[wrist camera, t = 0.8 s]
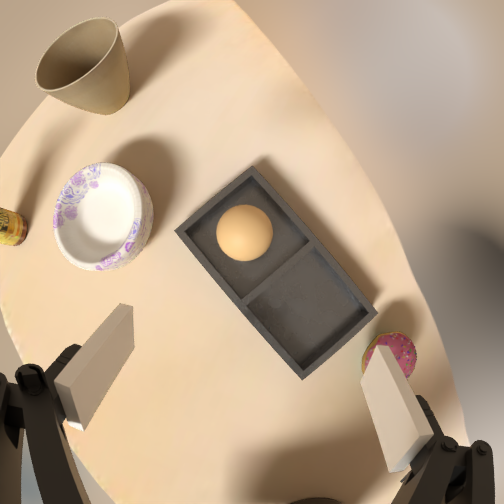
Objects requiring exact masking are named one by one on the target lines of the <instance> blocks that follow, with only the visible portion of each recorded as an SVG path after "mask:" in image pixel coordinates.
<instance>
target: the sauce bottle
mask: <svg viewBox="0 0 504 504" xmlns="http://www.w3.org/2000/svg"><path fill="white" fill-rule="evenodd" d="M26 232H27V223H26V220H25V219H24V217H23V216H22V215H19V214H18V213H15V212H12V211H9V210H6V209H3V208H0V244H5V245H13V246H17V245H20V244H21V243H22V242H23V241H24V239H25V236H26Z"/></svg>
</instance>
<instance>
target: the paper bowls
mask: <svg viewBox="0 0 504 504" xmlns="http://www.w3.org/2000/svg"><path fill="white" fill-rule="evenodd" d="M153 217H154V215H153V205H152V201H151V197H150V195H149V193H148V191H147V189H146V187H145V186H144V184H143V183H142V182H141V181H140V180H139V179H138V178H137V177H135V176H134V175H133V174H132V173H130V172H129V171H128V170H126V169H125V168H123V167H121V166H119V165H116V164H113V163H105V162H104V163H96V164H92V165H89V166H87V167H85V168H83V169H81V170H80V171H78V172H77V173H76V174H75V175H74V176H73V177H71V179H70V180H69V181H68V182H67V183H66V185H65V186H64V188H63V189H62V191H61V193H60V195H59V197H58V200H57V203H56V206H55V211H54V217H53V227H54V234H55V238H56V241H57V244H58V246H59V249H60V250H61V252H62V253H63V255H64V256H65V257H66V258H67V259H68V260H69V261H70V262H71V263H72V264H74V265H76V266H77V267H79V268H81V269H85V270H94V271H95V270H96V271H98V270H99V271H108V270H115V269H118V268H120V267H123V266H125V265H127V264H128V263H130V262H131V261H132V260H134V259H135V258H136V257H137V256H138V254H139V253H140V252H141V251H142V249H143V248H144V246H145V244H146V243H147V240H148V238H149V236H150V233H151V230H152V224H153Z"/></svg>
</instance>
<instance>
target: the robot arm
mask: <svg viewBox="0 0 504 504" xmlns="http://www.w3.org/2000/svg"><path fill="white" fill-rule="evenodd" d="M133 349H134V327H133V306H129V305H125V304H121V303H120V304H119V305H118V306H117V307H116V308H115V309H114V311H113V312H112V313H111V314H110V315H109V316H108V317H107V318H106V320H105V321H104V322H103V323H102V324H101V325H100V326H99V328H98V329H97V330H96V331H95V332H94V333H93V334H92V336H91V337H90V338H89V339H88V340H87V341H86V343H85V344H84V345H83V346H80V345H77V344H73V345H71V346H69V347H67V348H66V349H65V350H64V351H63V352H62V353H61V354H60V356H58V358H57V359H56V360H55V361H54V362H53V363H52V364H51V366H50V367H49V368H48V369H47V370H46V371H45V372H44V371H43V369H42V368H41V367H40V366H39V365H36V364H25V365H22V366H21V367H19V368H18V370H17V371H16V373H15V378H16V380H17V383H18V384H14V383H9V382H8V381H7V379H6V377H5V375H4V374H2V373H0V504H21V464H22V448H23V437H24V429H26V435H27V440H28V446H29V451H30V455H31V460H32V464H33V468H34V472H35V476H36V480H37V484H38V487H39V491H40V494H41V497H42V500H43V503H44V504H91V502H90V500H89V498H88V495H87V493H86V490H85V488H84V486H83V483H82V481H81V478H80V476H79V473H78V470H77V467H76V465H75V462H74V459H73V456H72V453H71V450H70V447H69V443H68V440H67V437H66V433H65V430H64V427H63V424H62V423H63V421H64V420H65V418H67V421H68V424H69V425H70V426H72V427H74V428H77V429H79V430H81V431H85V429H86V427H87V425H88V424H89V422H90V420H91V419H92V417H93V415H94V413H95V412H96V410H97V408H98V407H99V405H100V403H101V402H102V400H103V398H104V397H105V395H106V393H107V392H108V390H109V388H110V387H111V385H112V383H113V382H114V380H115V378H116V377H117V375H118V373H119V372H120V370H121V369H122V367H123V365H124V364H125V362H126V360H127V359H128V357H129V356H130V354H131V353H132V351H133ZM360 384H361V387H362V390H363V393H364V396H365V399H366V402H367V405H368V408H369V411H370V414H371V417H372V420H373V423H374V426H375V429H376V432H377V435H378V438H379V441H380V444H381V448H382V451H383V454H384V457H385V461H386V464H387V467H388V471H389V473H391V472H399V471H403V470H404V469H405V468H406V467H407V466H408V465H409V464H410V466H411V469H412V470H411V471H410V472H409V473H408V474H407V475H406V476H405V477H404V478H403V479H402V480H401V481H400V482H403V481H404V482H403V484H402V486H401V488H400V489H399V491H398V493H397V495H396V496H395V498H394V500H393V502H392V503H391V504H495V483H494V465H493V453H492V449H491V447H490V445H489V444H488V443H487V442H485V441H482V440H477V441H475V442H474V443H473V444H472V445H471V446H470V447H465V446H459V445H458V443H457V442H456V441H455V440H454V439H453V438H451V437H448V436H444V434H443V432H442V430H441V428H440V426H439V424H438V422H437V420H436V418H435V416H433V415H434V414H433V412H432V410H430V407H429V405H428V403H427V401H426V400H425V399H424V398H423V397H422V396H421V395H415V394H414V392H413V391H412V389H411V387H410V385H409V383H408V381H407V379H406V377H405V375H404V373H403V372H402V370H401V368H400V366H399V364H398V362H397V360H396V359H395V357H394V355H393V353H392V351H391V350H390V348H389V346H383V345H376V348H375V350H374V352H373V355H372V357H371V359H370V361H369V364H368V366H367V368H366V370H365V373H364V375H363V377H362V379H361V381H360ZM292 504H341V503H340V502H338V501H336V500H332V499H327V498H312V499H305V500H301V501H297V502H294V503H292Z"/></svg>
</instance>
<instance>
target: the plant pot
mask: <svg viewBox="0 0 504 504" xmlns="http://www.w3.org/2000/svg"><path fill="white" fill-rule="evenodd" d="M35 82H36V85H37V87H38V88H39V89H41V90H42V91H44V92H46V93H47V94H49V95H51V96H53V97H55V98H56V99H58V100H60V101H62V102H64V103H67V104H69V105H71V106H74V107H77V108H79V109H82V110H85V111H89V112H93V113H97V114H102V115H109V114H112V113H115V112H116V111H118V110H119V109H121V108H122V107H123V106H124V105H125V103H126V102H127V100H128V98H129V95H130V82H129V71H128V64H127V58H126V53H125V49H124V46H123V42H122V39H121V36H120V33H119V30H118V26H117V24H116V23H115V22H114V21H113V20H112V19H110V18H106V17H97V18H92V19H88V20H85V21H83V22H81V23H78V24H76V25H75V26H73V27H71V28H69V29H68V30H67V31H65V32H64V33H63V34H61V35H60V36H59V37H58V38H57V39H56V40H55V41H54V42H53V43H52V44H51V45H50V46H49V47H48V48H47V50H46V51H45V52H44V54H43V56H42V57H41V59H40V61H39V63H38V65H37V68H36V72H35Z"/></svg>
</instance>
